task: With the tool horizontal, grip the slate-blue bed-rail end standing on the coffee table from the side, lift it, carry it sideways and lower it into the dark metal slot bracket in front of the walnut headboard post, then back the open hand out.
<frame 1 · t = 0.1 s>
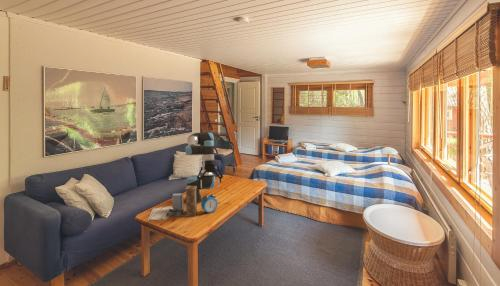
hand: (210, 187, 201), 28 cm above the table, tool tilted 20°, fingers open, 13 cm apart
rail end: (178, 209, 227), on the table
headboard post: (175, 214, 218), on the table
alarm clock: (209, 211, 224), on the table
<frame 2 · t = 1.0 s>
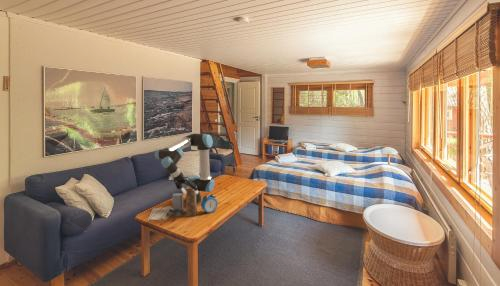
hand: (191, 193, 207), 21 cm above the table, tool tilted 35°, fingers open, 12 cm apart
nothing on the table moved.
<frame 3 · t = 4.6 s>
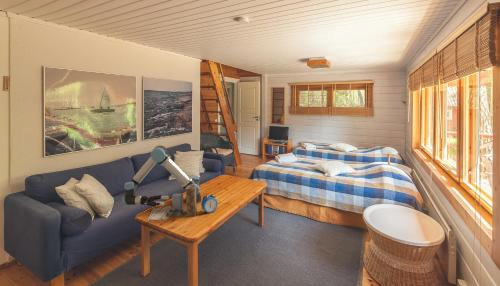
hand: (166, 200, 225), 9 cm above the table, tool horizontal, fingers open, 13 cm apart
nothing on the table moved.
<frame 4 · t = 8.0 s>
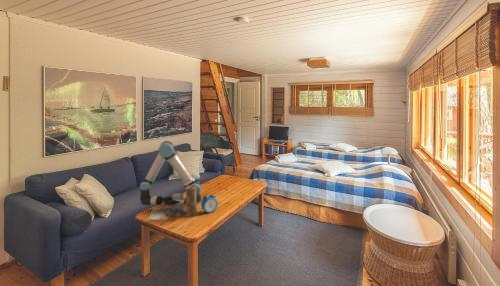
hand: (184, 200, 226), 8 cm above the table, tool horizontal, fingers closed on rail end, 5 cm apart
rail end: (178, 209, 227), on the table, touching gripper
everything else where it was.
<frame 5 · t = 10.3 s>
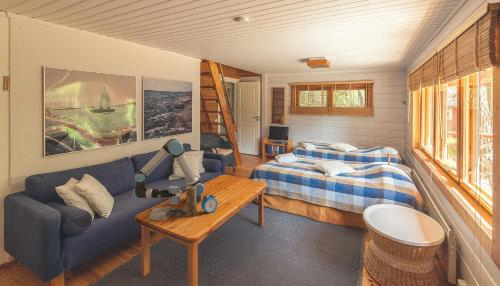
hand: (180, 193, 215), 18 cm above the table, tool horizontal, fingers closed on rail end, 5 cm apart
rail end: (174, 203, 217), point 10 cm above the table, touching gripper
everything else where it was.
when the fingers open (10 cm above the table, at t = 12.5 s): rail end drops 1 cm, resting in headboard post.
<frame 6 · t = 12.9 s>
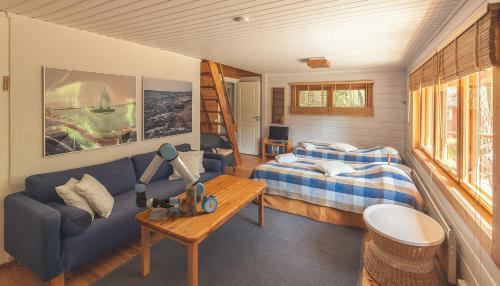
hand: (180, 203, 217), 10 cm above the table, tool horizontal, fingers open, 10 cm apart
rail end: (175, 214, 218), resting in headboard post
everything else where it was.
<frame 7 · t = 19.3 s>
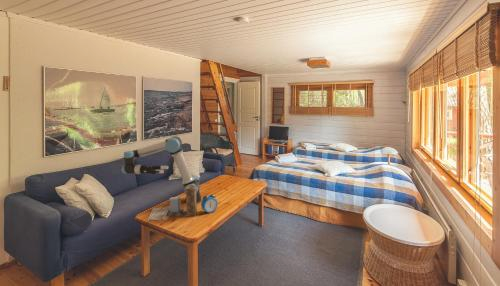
hand: (165, 169, 225), 35 cm above the table, tool horizontal, fingers open, 13 cm apart
nothing on the table moved.
at the end: rail end 0.1 cm off-centre on the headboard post, point 0.0 cm above the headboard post's base; rail end tilted 0°; the gripper is holding nothing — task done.
